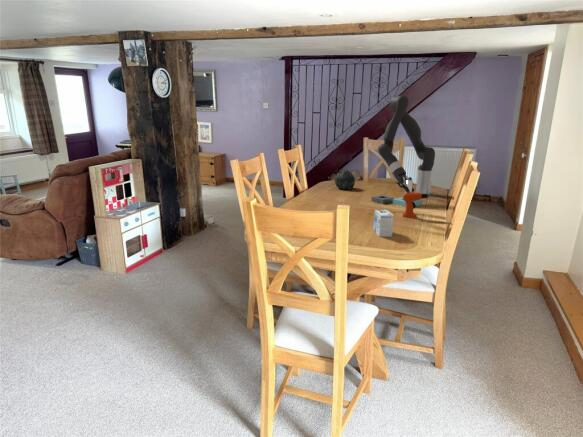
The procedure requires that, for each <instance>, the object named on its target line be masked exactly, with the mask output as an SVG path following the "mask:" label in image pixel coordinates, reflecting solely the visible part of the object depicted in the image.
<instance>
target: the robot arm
mask: <svg viewBox="0 0 583 437" xmlns="http://www.w3.org/2000/svg"><path fill="white" fill-rule="evenodd" d="M389 106H390V109H391V110H392V111H393V113H394V114H393V117H392V119H391V120H390V121H389V123H388V124H387V126H386V129H385V131H384V134H383V141H384V142H383V143H382V144H380V145H378V147H377V150H378V153H379V156H381V157H382V159H383V161H384V162H385V163H386V164H387V166H388V168H389V170H390V173H391V174H392V175H393V177H394V178H395V181H394V182H395V183H396V184H397V185H398V186H399V187H400V189H404V192H405V191H406V192H410V190H409V189H408V187H406V186H407V185H406V180H413V178H412V177H411V176H407V172H406V170H405V168H404V167H403V165H402V164H401V162H400V160H398V158H397V157H396V155H394V154H393V150H394V141H395V138H396V134H397V131H398V129H399V125H400V124H401V126H402V127H403V130H404V132H405V133H406V135H407V137H408V138H409V141H410V142H411V144H412V146H413V148H414V150H415V153H416V155H417V157H418V158H419V160H422V164H420V165H418V168H417V178H416V187H415V188H416V189H415V188H414V186H413V185H414V183H413V184H412V193H413V192H414V193H416V192H418V193H421V194H427V195H431V188H432V172H433V167H434V164H435V157H436V151H435V149H434V148H433V147H430V146H426V145H425V143H424V142H423V141H422V130H421V126H420V124H418V122H417V121H416V119H415V118H414V117H412V115H410V114H409V112H408V111H407V109H408V106H409V97H408V96H406V95H394V96H392V97H391V98H390V100H389Z"/></svg>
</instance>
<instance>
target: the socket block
mask: <svg viewBox="0 0 583 437" xmlns="http://www.w3.org/2000/svg"><path fill="white" fill-rule="evenodd" d="M393 199H395V198H394V197H393V196H387V195H385V194H384V195H383V194H380V195H379V194H378V195H375V196H371V200H370V201H371V202H374V203H377V204H380V205H381V204H382V205H385V204H390V203H391V202H392V203H393ZM392 203H391V204H392Z"/></svg>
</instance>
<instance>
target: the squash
mask: <svg viewBox="0 0 583 437" xmlns="http://www.w3.org/2000/svg"><path fill="white" fill-rule="evenodd" d="M355 179H356V178H355V176H354V175H353V173H351V171H349V170H343V171H341V172H339V173H338V174H337V175H336V176H335V178H334V183H335V186H336V187H337V188H338V189H342V190H344V191H345V190H347V191H349V190H351V189H353V188H354V187H355V185H356V184H355V183H356V180H355Z"/></svg>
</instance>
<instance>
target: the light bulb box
mask: <svg viewBox="0 0 583 437" xmlns="http://www.w3.org/2000/svg"><path fill="white" fill-rule="evenodd" d="M394 218H395V215H394V214H393V213H392V212H390V211H389V210H388V209H375V210H374V217H373V232H374V233H375V234H376V235H377V237H383V238H384V237H387V238H388V237H391V238H392V237H393V228H394Z"/></svg>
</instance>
